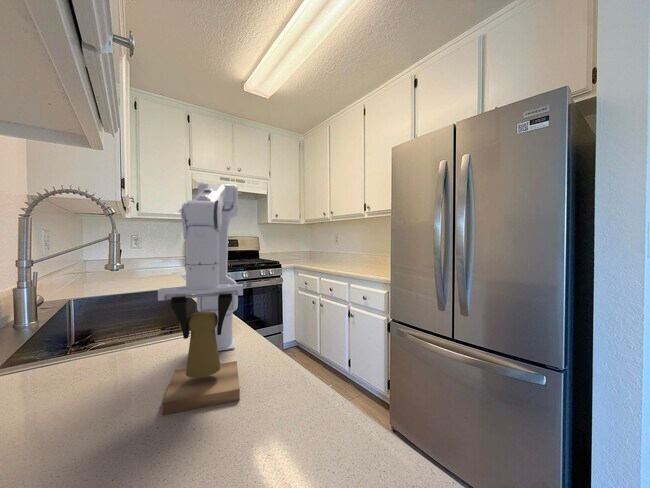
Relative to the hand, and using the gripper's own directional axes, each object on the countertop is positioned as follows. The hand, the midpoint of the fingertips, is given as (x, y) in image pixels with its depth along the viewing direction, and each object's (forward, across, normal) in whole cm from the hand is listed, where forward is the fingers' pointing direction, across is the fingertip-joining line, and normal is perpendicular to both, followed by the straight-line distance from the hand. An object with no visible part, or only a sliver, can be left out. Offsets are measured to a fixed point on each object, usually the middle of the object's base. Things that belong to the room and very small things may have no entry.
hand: (203, 335), depth 52 cm
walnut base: (+10, 0, 0) cm, 10 cm away
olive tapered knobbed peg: (+7, 0, 0) cm, 7 cm away
